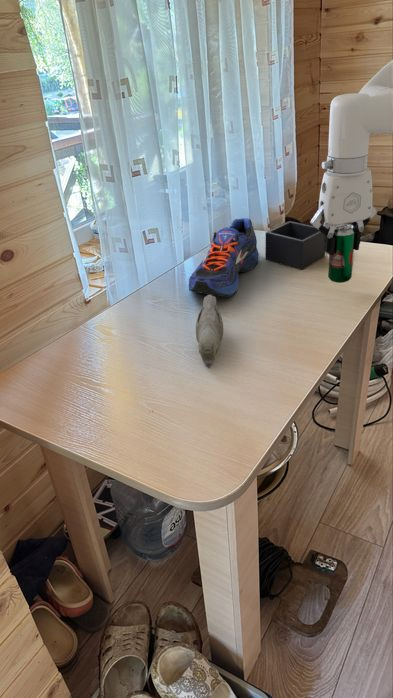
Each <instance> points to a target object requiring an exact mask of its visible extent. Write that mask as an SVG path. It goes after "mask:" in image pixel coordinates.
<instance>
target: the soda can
mask: <svg viewBox="0 0 393 698" xmlns="http://www.w3.org/2000/svg"><path fill="white" fill-rule="evenodd" d="M353 228H354V227H353V225H352V224H351V223H347V224H341V225H336V228H335V231H334V234H333V237H335V252H334V255H332V256H331V255H329V254H328V271H327V277H328V280H330V281H331V282H333V283H337V284H340V283H341V284H344V283H347V282H349V281H350V280H351V279H352V278H353V264H354V253H355V252H354V251H355V250H354V241H355V230H354V229H353Z"/></svg>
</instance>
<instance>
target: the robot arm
mask: <svg viewBox="0 0 393 698" xmlns="http://www.w3.org/2000/svg"><path fill="white" fill-rule="evenodd" d="M329 106H330V108H329V125H328V126H329V127H328V146H327V147H328V150H327V156H326V160H325V161H322V162H321V167H322V168H321V169H323V170H326V171H324V173H323V177H322V180H321V185H320V187H321V188H320V191H319V199H318V210H317V211H316V212H315V213H314V215H313V217H311V219H310V221H309V225H310V226H314V227H315V228H317V229H318V230H319V231H320V232H321V233H322V234H324V246H323V247H324V250H325V254H328V256H329V255H331V256H332V255H334V252H335V237H333V234H334V231H335V228H336V225H341V224H351V225H353V227H354V228H353V229H354V230H355V241H354V251H359V250H360V244H361V239H362V233H363V232H364V231H365V227H366V226H367V225H368V224H369V222H370V221H371V220H372V219H373V218H374V217H375V215H377V213H378V210H377V208H375V206H374V205H373V192H374V191H373V177H372V171H371V168H369V167H368V161H369V160H368V159H369V146H370V138H371V137H370V136H371V135H393V59H392V60H390V61H389V62H387V63H386V65H384V66H383V67H382V68H380V69H379V70H378V71H377V73H376V74H374V75H373V76H372V77H371V79H369V80H368V81H366V83H365V84H364V85H363V87H361V89H360V90H359V92H351V93H343V94H339V95H337V96H335V97H334V98H332V100H331V102H330V105H329ZM321 221H324V222H323V224H322V223H321Z"/></svg>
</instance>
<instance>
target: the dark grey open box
mask: <svg viewBox="0 0 393 698" xmlns="http://www.w3.org/2000/svg"><path fill="white" fill-rule="evenodd" d="M323 246H324V234H322V233H321V232H320V231H319V230H318V229H317V228H315V227H314V226H312V225H311V224H306V223H300V222H296V221H292V220H289V221H287V222H284V223H283V224H280V225H278V226H276V227H273V228H272V229H269V230H268V231H265V260H266V261H267V262H268V261H269V262H272V263H276V264H279V265H281V266H282V265H283V266H286V267H290V268H293V269H296V270H300V271H303V270H305V269H307V268H308V267H310V266H312V265H314V264H315V263H317V262H318V261H321V260H322V259H323V258H325V257H326V252H325V250H324V247H323Z"/></svg>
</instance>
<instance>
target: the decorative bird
mask: <svg viewBox="0 0 393 698" xmlns="http://www.w3.org/2000/svg"><path fill="white" fill-rule="evenodd" d="M216 297H217V296H215V295H211V294H206V296H204V298H203V301H202V307H201V309H200V310H199V312H198V314H197V318H196V322H195V337H196V341H197V343H198V352H199V354H200V357H201V359H202V362H203V364H204V365H205V367H207V368H208V369H210V368H211V367H212V365H213V363H214V362H215V359H216V356H217V352H218V348H219V345H220V344H221V342H222V341H223V336H224V321H223V318H222V315H221V313H220V309H219V307H218V306H217V298H216Z"/></svg>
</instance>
